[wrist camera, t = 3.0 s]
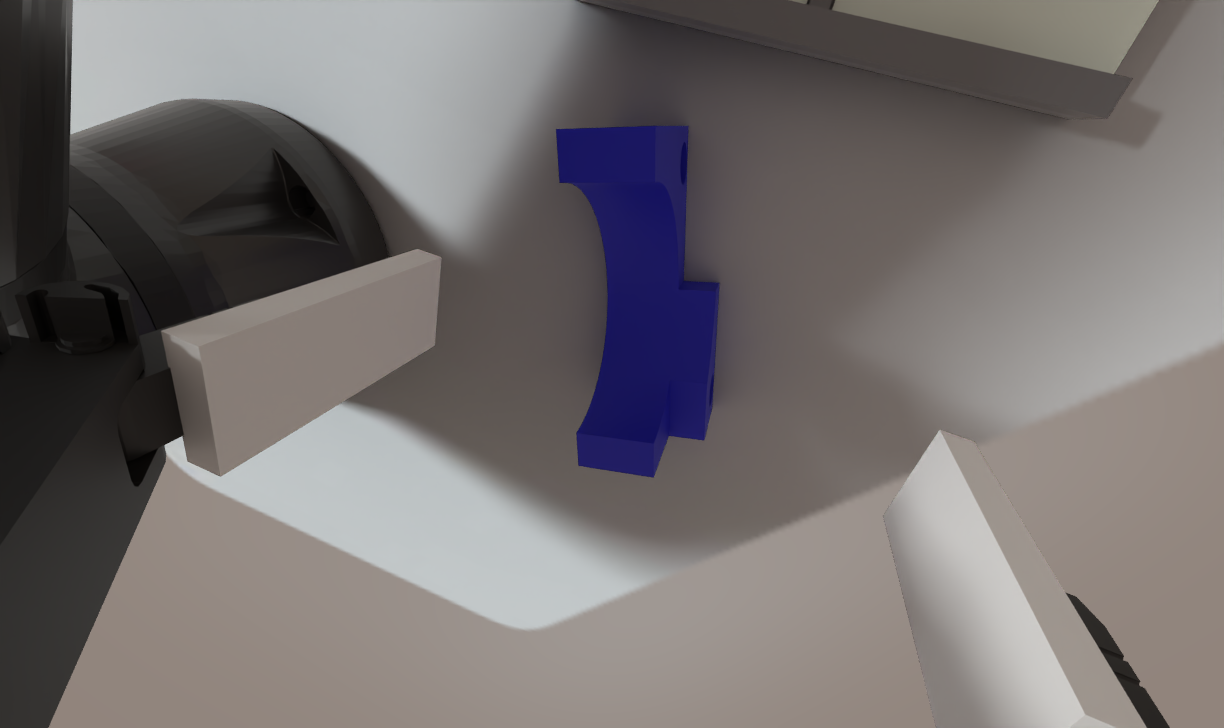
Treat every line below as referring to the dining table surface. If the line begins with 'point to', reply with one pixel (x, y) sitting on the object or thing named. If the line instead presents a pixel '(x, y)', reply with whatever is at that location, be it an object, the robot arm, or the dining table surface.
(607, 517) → the dining table surface
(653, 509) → the dining table surface
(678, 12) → the board
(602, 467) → the cable clip
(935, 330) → the dining table surface
